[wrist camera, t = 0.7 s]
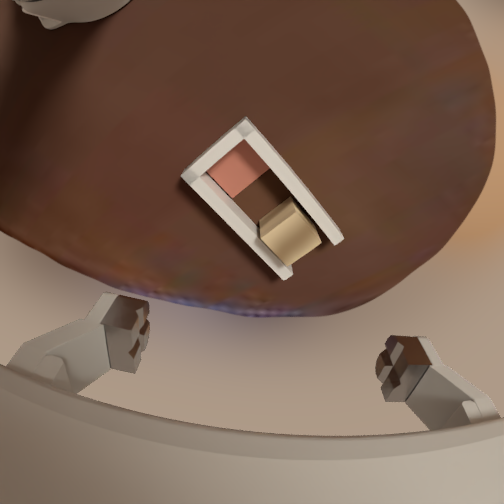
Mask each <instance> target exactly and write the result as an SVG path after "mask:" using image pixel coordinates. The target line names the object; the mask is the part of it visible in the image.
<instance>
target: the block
mask: <svg viewBox="0 0 504 504" xmlns="http://www.w3.org/2000/svg"><path fill="white" fill-rule="evenodd" d="M259 223H260V237H261V239H262V240H263V241H264V243H265V244H266V245H267V246H268V247H269V248H270V249H271V250H272V251H273V252H274V253H275V254H276V255H277V256H278V257H279V258H280V259H281V260H282V262H283V263H284V264H285V265H286V266H287V267H288V266H289V265H291V264H292V263H294V262H295V261H296V260H298V259H299V258H301V257H302V256H304V255H305V254H306V253H308V252H309V251H311V250H312V249H313V248H315V247H316V246H318V245H319V244H321V240H320V238H319V235H318V233H317V230H316V228H315V225H314V224H313V222H312V221H311V220H310V219H309V218H308V216H307V215H306V214H305V213H304V212H303V210H302V209H301V208H300V207H299V206H298V204H297V203H296V202H295V201H294V200H293V198H292V197H291V196H290V197H289V198H288V199H286V200H285V201H284V202H282V203H281V204H280V205H279V206H277V207H276V208H275V209H273V210H272V211H271V212H269V213H268V214H267V215H265V216H264V217H263V218H262V219H260V220H259Z"/></svg>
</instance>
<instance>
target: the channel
mask: <svg viewBox="0 0 504 504" xmlns="http://www.w3.org/2000/svg"><path fill="white" fill-rule="evenodd" d="M269 168H271V169H272V171H273V172H274V173H275V174H276V175H277V176H278V178H279V179H280V180H281V181H282V182H283V183H284V185H285V186H286V187H287V188H288V189H289V190H290V192H291V193H292V194H293V195H294V196H295V198H296V199H297V200H298V201H299V202H300V204H301V205H302V206H303V207H304V208H305V210H306V211H307V212H308V213H309V214H310V216H311V217H312V218H313V219H314V221H315V222H316V223H317V224H318V225H319V227H320V228H321V229H322V230H323V232H324V233H325V234H326V235H327V237H328V238H329V239H330V240H331V242H332V243H333V244H334V245H336V244H338V243H339V242H340V241H342V240H343V239H344V237H343V235H342V233H341V231H340V230H339V228H338V226H337V225H336V224H335V222H334V221H333V220H332V219H331V217H330V216H329V215H328V213H327V212H326V211H325V210H324V208H323V207H322V206H321V205H320V203H319V202H318V201H317V199H316V198H315V197H314V196H313V194H312V193H311V192H310V191H309V189H308V188H307V187H306V186H305V185H304V183H303V182H302V181H301V180H300V178H299V177H298V176H297V175H296V174H295V172H294V171H293V170H292V169H291V168H290V166H289V165H288V164H287V163H286V162H285V160H284V159H283V158H282V157H281V156H280V154H279V153H278V152H277V151H276V150H275V149H274V147H273V146H272V145H271V144H270V143H269V142H268V141H267V139H266V138H265V137H264V136H263V135H262V134H261V133H260V131H259V130H258V129H257V128H256V127H255V126H254V125H253V124H252V122H251V121H250V120H249V119H248V118H247V117H246V116H245V117H244V118H243V119H242V120H241V121H239V122H238V123H237V124H236V125H235V126H233V127H232V128H231V129H230V130H229V131H227V132H226V133H225V134H224V135H223V136H222V137H220V138H219V139H218V140H217V141H216V142H215V143H213V144H212V145H211V146H210V147H209V148H208V149H207V150H206V151H204V152H203V153H202V154H201V155H200V156H199V157H198V158H197V159H196V160H194V161H193V162H192V163H191V164H190V165H189V166H188V167H187V168H186V169H185V170H184V172H183V173H182V175H181V177H182V178H183V179H184V180H185V181H186V182H187V183H188V184H189V185H190V186H191V187H192V188H193V189H194V190H195V191H196V192H197V193H198V194H199V195H200V196H201V197H202V198H203V199H204V200H205V201H206V202H207V203H208V204H209V205H210V206H211V207H212V209H213V210H214V211H215V212H216V213H217V214H218V215H219V216H220V217H221V218H222V219H223V220H224V221H225V222H226V223H227V224H228V225H229V226H230V227H231V228H232V229H233V230H234V231H235V232H236V233H237V234H238V235H239V236H240V237H241V238H242V239H243V240H244V241H245V242H246V243H247V244H248V245H249V246H250V247H251V248H252V249H253V250H254V251H255V252H256V253H257V254H258V255H259V256H260V257H261V258H262V259H263V260H264V261H265V262H266V263H267V264H268V265H269V266H270V267H271V268H272V269H273V270H274V271H275V272H276V273H277V274H278V275H279V276H280V277H281V278H282V279H283V280H286V279H287V278H289V277H290V276H292V275H293V272H292V267H291V265H289V266H288V267H287V266H286V265H285V264H284V263H283V262H282V260H281V259H280V258H279V257H278V256H277V255H276V254H275V253H274V252H273V251H272V250H271V249H270V248H269V247H268V246H267V245H266V244H265V243H264V241H263V240H262V239H261V237H260V229H259V228H258V227H257V226H256V225H255V224H254V223H253V221H252V220H251V219H250V218H249V217H248V216H247V215H246V214H245V213H244V212H243V211H242V210H241V209H240V208H239V207H238V206H237V205H236V204H235V203H234V201H233V200H232V199H231V198H230V197H229V196H228V195H227V194H226V193H225V192H224V191H223V190H222V189H221V188H220V187H219V186H218V185H217V184H216V183H215V182H214V181H213V180H212V178H213V179H214V180H215V181H216V182H217V183H218V184H219V185H220V186H221V187H222V188H223V189H224V190H225V191H226V192H227V193H228V194H229V195H230V196H231V197H232V198H233V197H235V196H236V195H237V194H238V193H240V192H241V191H242V190H243V189H244V188H246V187H247V186H248V185H249V184H251V183H252V182H253V181H254V180H256V179H257V178H258V177H259V176H261V175H262V174H263V173H264V172H266V171H267V170H268V169H269ZM206 171H207V172H208V173H209V174H210V176H211V177H212V178H211V177H210V176H209V175H208V174H207V173H206Z"/></svg>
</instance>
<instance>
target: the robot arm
mask: <svg viewBox="0 0 504 504" xmlns="http://www.w3.org/2000/svg"><path fill="white" fill-rule="evenodd" d="M14 1H15V2H16V3H17V4H18V5H21V6H22V11H23V12H24V13H27V14H31V15H34V16H38V18H39V19H40V21H41V23H42V25H43V26H44V27H45V28H47V29H50V30H52V29H56V28H58V27H61V26H63V25H65V24H67V23H72V22H90V21H95V20H98V19H101V18H104V17H106V16H108V15H110V14H112V13H114V12H115V11H117V10H119V9H120V8H121V7H123V6H124V5H125V4H127V3H128V2H129V1H130V0H14ZM148 314H149V303H148V301H145V300H140V299H135V298H131V297H127V296H123V295H118V294H114V293H109V292H105V293H103V294H102V295H101V297H100V298H99V300H98V301H97V302H96V304H95V305H94V307H93V308H92V309H91V311H90V312H89V314H88V315H87V317H86V318H85V319H84V320H83V319H79V320H76V321H74V322H72V323H69V324H67V325H65V326H62V327H60V328H58V329H55V330H53V331H51V332H48V333H46V334H44V335H41V336H39V337H37V338H34V339H32V340H30V341H27V342H25V343H23V344H22V346H21V347H20V348H19V349H18V351H17V352H16V353H15V355H14V356H13V357H12V359H11V360H10V362H9V363H8V364H7V366H3V365H1V364H0V504H504V417H503V418H501V417H500V415H499V413H498V411H497V410H496V408H495V406H494V404H493V402H492V401H491V399H490V397H489V396H487V395H486V394H485V393H483V392H482V391H480V390H479V389H478V388H477V387H475V386H474V385H473V384H471V383H470V382H469V381H467V380H466V379H465V378H463V377H462V376H461V375H459V374H458V373H456V372H455V371H454V370H452V369H451V368H450V367H448V366H444V365H443V363H442V361H441V359H440V358H439V356H438V354H437V352H436V350H435V349H434V347H433V345H432V343H431V342H430V340H429V339H428V338H427V337H421V336H415V337H410V336H395V335H391V336H390V337H389V338H388V339H387V341H386V343H385V346H386V349H385V350H384V351H383V352H381V353H380V354H379V357H378V359H377V361H376V367H375V369H376V375H377V378H378V379H379V380H380V381H381V382H382V383H383V384H382V386H381V390H382V393H383V396H384V399H385V401H386V402H405V403H406V404H407V405H408V406H409V408H410V409H411V410H412V411H413V412H414V413H415V414H416V415H417V416H418V417H419V418H420V420H421V421H422V422H423V423H424V424H425V425H426V426H427V427H428V428H429V429H430V430H429V431H420V432H411V433H399V434H386V435H363V436H311V435H310V436H309V435H289V434H274V433H262V432H252V431H243V430H234V429H226V428H219V427H212V426H206V425H200V424H194V423H188V422H182V421H177V420H172V419H167V418H163V417H158V416H153V415H149V414H145V413H140V412H136V411H132V410H129V409H125V408H121V407H117V406H113V405H110V404H107V403H103V402H100V401H96V400H93V399H90V398H87V397H84V396H81V395H77V393H78V392H80V391H81V390H83V389H84V388H85V387H87V386H88V385H90V384H91V383H92V382H94V381H95V380H97V379H98V378H99V377H101V376H102V375H104V373H106V372H108V371H109V370H110V368H112V369H116V370H120V371H125V372H130V373H134V374H135V373H136V371H137V368H138V366H139V363H140V361H141V352H142V351H144V350H145V348H146V346H147V342H148V338H149V330H150V324H149V321H148V320H147V319H146V318H147V316H148Z"/></svg>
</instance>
